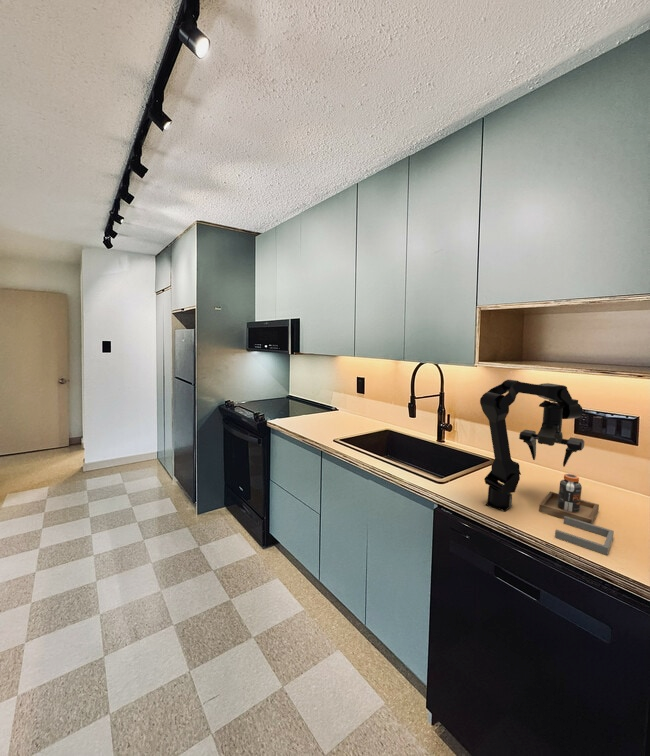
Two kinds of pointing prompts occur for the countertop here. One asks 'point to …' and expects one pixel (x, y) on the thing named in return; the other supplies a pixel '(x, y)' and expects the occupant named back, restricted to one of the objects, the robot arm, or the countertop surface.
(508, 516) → the countertop surface
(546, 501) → the tray
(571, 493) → the pill bottle
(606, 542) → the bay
